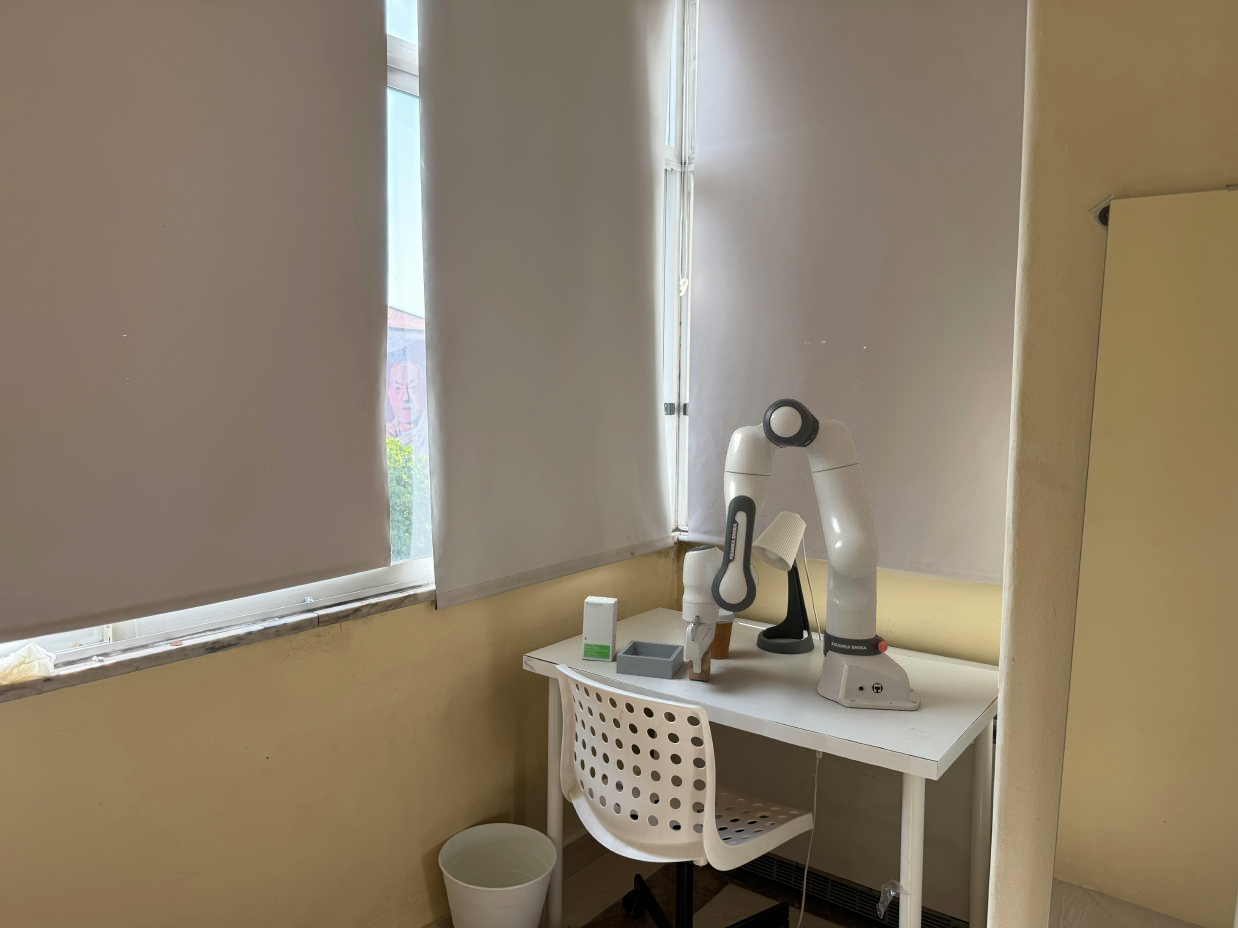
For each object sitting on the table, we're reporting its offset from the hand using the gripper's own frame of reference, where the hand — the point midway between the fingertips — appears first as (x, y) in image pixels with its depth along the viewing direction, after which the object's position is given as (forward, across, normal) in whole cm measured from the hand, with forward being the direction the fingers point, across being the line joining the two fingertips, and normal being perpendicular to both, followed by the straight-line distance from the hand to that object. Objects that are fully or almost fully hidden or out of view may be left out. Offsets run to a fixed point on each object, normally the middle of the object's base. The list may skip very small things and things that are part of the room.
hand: (699, 668), depth 184 cm
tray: (+2, +4, +13) cm, 14 cm away
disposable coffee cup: (+3, +20, -1) cm, 20 cm away
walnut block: (+2, 0, 0) cm, 2 cm away
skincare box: (+2, +8, +28) cm, 30 cm away
